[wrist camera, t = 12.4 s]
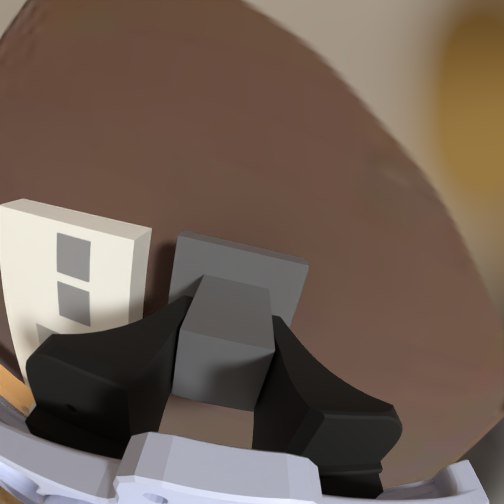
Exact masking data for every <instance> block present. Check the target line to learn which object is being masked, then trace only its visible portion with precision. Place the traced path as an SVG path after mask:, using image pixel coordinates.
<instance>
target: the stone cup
mask: <svg viewBox="0 0 504 504" xmlns="http://www.w3.org/2000/svg"><path fill="white" fill-rule="evenodd" d="M0 504H24V503H23V502H21V501H20V500H19V499H17V498H16V497H14V496H13V495H12V494H10V493H9V492H8V491H6V490H5V489H4V488H2V487H1V486H0Z"/></svg>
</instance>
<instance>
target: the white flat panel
mask: <svg viewBox="0 0 504 504" xmlns="http://www.w3.org/2000/svg"><path fill="white" fill-rule="evenodd" d="M151 232H152V228H148V227H144V226H140V225H135V224H131V223H127V222H122V221H118V220H114V219H109V218H105V217H101V216H96V215H92V214H88V213H83V212H79V211H75V210H70V209H66V208H62V207H57V206H53V205H49V204H44V203H40V202H36V201H31V200H27V199H20V200H16V201H12V202H8V203H5V204H1V205H0V266H1V276H2V284H3V292H4V299H5V305H6V311H7V316H8V321H9V326H10V331H11V335H12V340H13V344H14V348H15V352H16V355H17V359H18V363H19V366H20V369H21V373H22V376H23V379H24V382H25V385H26V386H27V387H28V388H30V385H29V382H28V379H27V375H26V369H25V366H26V361H27V359H28V358H29V357H30V355H31V354H32V353H33V352H34V351H35V350H36V349H37V348H38V347H39V346H40V345H41V344H42V343H43V342H44V341H45V340H46V339H47V338H48V337H49V336H50V335H51V334H58V333H60V334H82V333H92V332H98V331H104V330H108V329H113V328H117V327H121V326H124V325H127V324H130V323H133V322H136V321H138V320H141V319H143V305H144V293H145V282H146V272H147V263H148V255H149V247H150V239H151ZM30 389H31V388H30Z"/></svg>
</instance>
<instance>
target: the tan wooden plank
mask: <svg viewBox="0 0 504 504" xmlns="http://www.w3.org/2000/svg"><path fill="white" fill-rule="evenodd" d="M0 395H1V396H3V397H4V398H5V399H6V400H7V401H8V402H10V403H11V404H12V405H13V406H15V407H16V408H17V409H18V410H20V411H21V412H22V413H23V414H25V415H26V416H27V417H28V416H29V415H30V413H31V412H32V410H33V409H34V408H35V406H36V403H35V400H34V397H33V394H32V391H31V389H30V388H28V387H27V386H26V385H25V384H23V383H22V382H21V381H20V380H18V379H17V378H16V377H15V376H14V375H12V374H11V373H10V372H9V371H8V370H6V369H5V368H4V367H3V366H2V365H1V364H0Z"/></svg>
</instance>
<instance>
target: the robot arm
mask: <svg viewBox="0 0 504 504" xmlns="http://www.w3.org/2000/svg"><path fill="white" fill-rule="evenodd" d="M193 299H194V297H191V296H187V295H182V296H181V297H179V298H178V299H176V300H174V301H173V302H171V303H170V304H168V305H167V306H165V307H163V308H162V309H160V310H158V311H157V312H155V313H153V314H151V315H149V316H147V317H145V318H143V319H141V320H138V321H136V322H133V323H130V324H127V325H124V326H121V327H117V328H113V329H108V330H104V331H98V332H92V333H82V334H51V335H50V336H49V337H48V338H47V339H46V340H45V341H44V342H43V343H42V344H41V345H40V346H39V347H38V348H37V349H36V350H35V351H34V352H33V353H32V354H31V355H30V357H29V358H28V359H27V361H26V366H25V369H26V375H27V379H28V382H29V385H30V388H31V391H32V394H33V397H34V400H35V403H36V406H35V408H34V409H33V410H32V412H31V413H30V415H29V416H28V417H27V419H26V418H25V417H23V416H22V415H20V414H18V413H17V412H15V411H14V410H12V409H11V408H9V407H8V406H6V405H5V404H3V403H2V402H0V486H1V487H2V488H4V489H5V490H6V491H8V492H9V493H10V494H12V495H13V496H14V497H16V498H17V499H19V500H20V501H21V502H23V503H24V504H489V500H488V498H487V496H486V494H485V492H484V490H483V488H482V486H481V484H480V482H479V480H478V478H477V476H476V474H475V472H474V470H473V468H472V466H471V464H470V463H469V461H468V460H464V461H460V462H457V463H454V464H450V465H448V466H446V467H444V468H443V469H442V470H440V471H439V472H438V473H437V474H436V475H435V476H434V478H432V479H428V480H424V481H420V482H415V483H411V484H406V485H401V486H395V487H389V488H383V487H382V484H381V481H380V478H379V474H378V473H381V472H382V469H383V468H382V465H381V462H380V461H381V460H382V459H383V458H384V457H385V455H386V454H387V453H388V452H389V451H390V450H391V449H392V448H393V447H394V445H395V444H396V443H397V441H398V440H399V438H400V436H401V433H402V430H403V429H402V424H401V421H400V419H399V417H398V415H397V413H396V411H395V409H394V407H393V405H391V404H389V403H386V402H384V401H381V400H379V399H376V398H374V397H372V396H369V395H367V394H365V393H363V392H362V391H360V390H358V389H356V388H354V387H352V386H351V385H349V384H347V383H346V382H344V381H343V380H341V379H340V378H339V377H337V376H336V375H334V374H333V373H332V372H330V371H329V370H328V369H327V368H325V367H324V366H323V365H322V364H321V363H320V362H318V361H317V360H316V359H315V358H314V357H313V356H312V355H311V354H310V353H309V351H308V350H307V349H306V348H305V347H304V346H303V345H302V344H301V343H300V341H299V340H298V339H297V338H296V336H295V335H294V334H293V333H292V331H291V330H290V329H289V327H288V326H287V325H286V323H285V322H284V321H283V319H282V318H281V317H280V316H275V315H272V323H273V333H274V343H275V352H274V355H273V357H272V360H271V363H270V366H269V369H268V372H267V374H266V377H265V380H264V383H263V385H262V388H261V391H260V393H259V396H258V399H257V401H256V404H255V407H254V428H253V441H252V449H248V448H241V447H234V446H228V445H222V444H217V443H211V442H206V441H202V440H197V439H192V438H188V437H184V436H180V435H176V434H168V433H160V432H158V430H159V426H160V423H161V419H162V416H163V412H164V409H165V405H166V403H167V400H168V397H169V395H170V392H171V390H172V388H173V380H174V372H175V363H176V355H177V348H178V340H179V333H180V328H181V326H182V324H183V321H184V319H185V317H186V314H187V312H188V310H189V308H190V305H191V303H192V301H193Z"/></svg>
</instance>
